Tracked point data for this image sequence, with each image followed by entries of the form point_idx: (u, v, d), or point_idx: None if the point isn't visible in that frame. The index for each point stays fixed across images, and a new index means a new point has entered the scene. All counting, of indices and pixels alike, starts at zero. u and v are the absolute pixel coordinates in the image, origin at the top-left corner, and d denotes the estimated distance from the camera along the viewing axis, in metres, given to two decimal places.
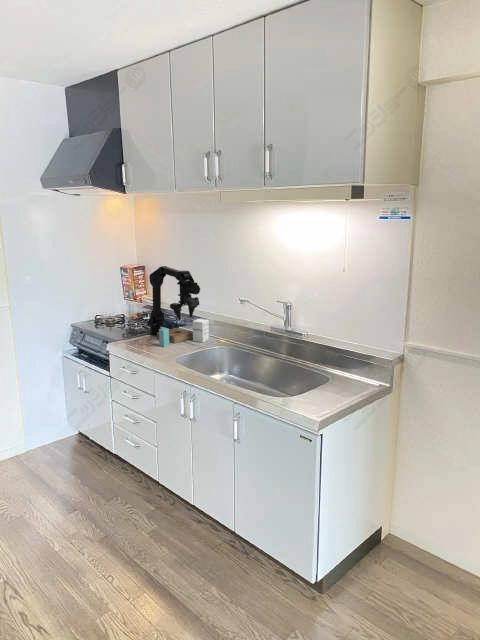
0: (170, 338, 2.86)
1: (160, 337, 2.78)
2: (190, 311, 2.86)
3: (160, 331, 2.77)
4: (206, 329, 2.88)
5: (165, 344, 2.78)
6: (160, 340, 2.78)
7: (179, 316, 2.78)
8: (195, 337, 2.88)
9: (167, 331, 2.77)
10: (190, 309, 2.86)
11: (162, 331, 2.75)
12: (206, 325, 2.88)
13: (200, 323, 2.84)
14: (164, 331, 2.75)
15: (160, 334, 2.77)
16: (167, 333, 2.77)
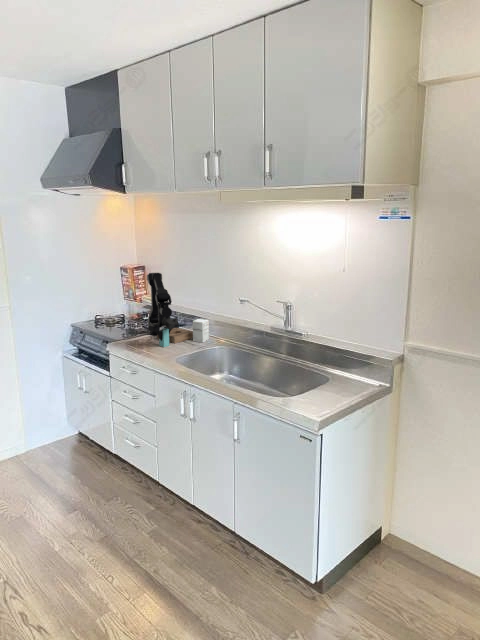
0: (170, 338, 2.86)
1: None
2: None
3: None
4: (206, 329, 2.88)
5: (165, 344, 2.78)
6: (160, 340, 2.78)
7: (161, 337, 2.76)
8: (195, 337, 2.88)
9: (167, 331, 2.77)
10: None
11: None
12: (206, 325, 2.88)
13: (200, 323, 2.84)
14: (164, 331, 2.75)
15: None
16: (167, 333, 2.77)
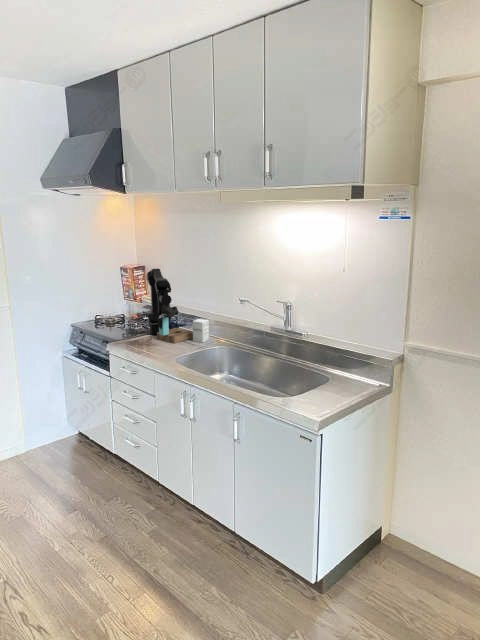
0: (170, 338, 2.86)
1: None
2: None
3: None
4: (206, 329, 2.88)
5: (165, 332, 2.76)
6: (159, 328, 2.77)
7: (160, 325, 2.74)
8: (195, 337, 2.88)
9: (167, 319, 2.76)
10: None
11: (162, 319, 2.74)
12: (206, 325, 2.88)
13: (200, 323, 2.84)
14: (164, 319, 2.74)
15: None
16: (167, 321, 2.76)
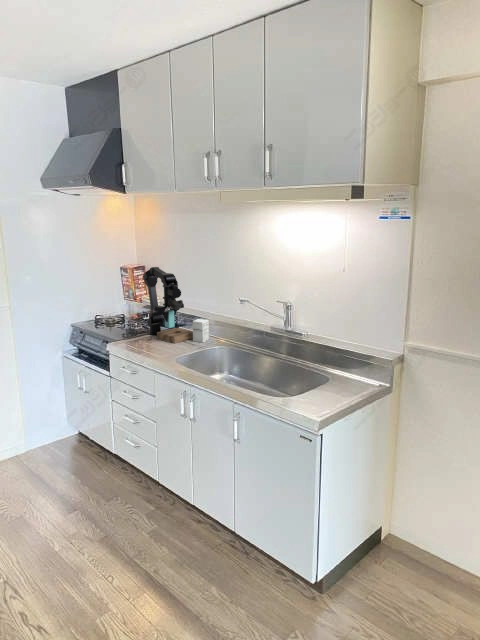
0: (170, 338, 2.86)
1: None
2: None
3: None
4: (206, 329, 2.88)
5: (170, 325, 2.84)
6: (165, 321, 2.84)
7: (166, 318, 2.82)
8: (195, 337, 2.88)
9: (172, 312, 2.83)
10: None
11: (168, 312, 2.81)
12: (206, 325, 2.88)
13: (200, 323, 2.84)
14: (170, 312, 2.81)
15: None
16: (172, 314, 2.83)
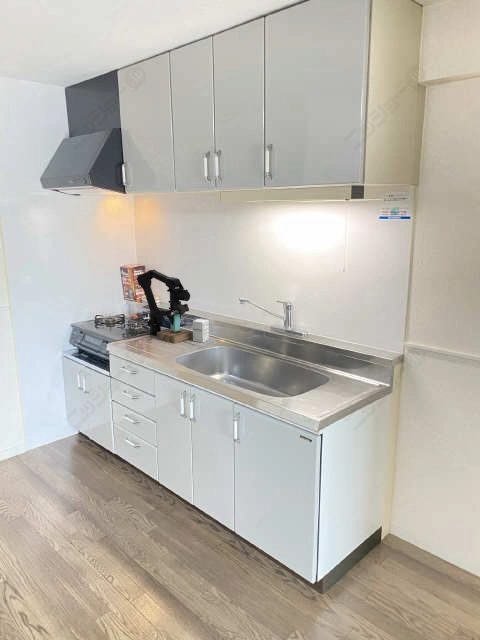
0: (170, 338, 2.86)
1: None
2: None
3: None
4: (206, 329, 2.88)
5: (176, 328, 2.92)
6: (171, 324, 2.92)
7: (172, 321, 2.90)
8: (195, 337, 2.88)
9: (178, 316, 2.91)
10: None
11: None
12: (206, 325, 2.88)
13: (200, 323, 2.84)
14: (175, 316, 2.90)
15: None
16: (178, 318, 2.92)
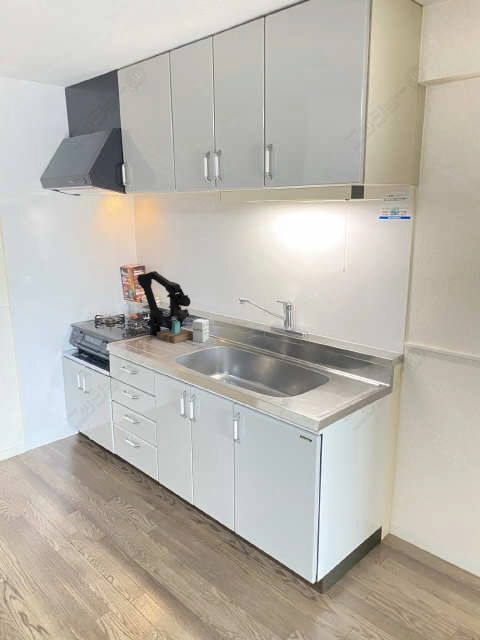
0: (170, 338, 2.86)
1: (172, 329, 2.93)
2: None
3: (172, 323, 2.92)
4: (206, 329, 2.88)
5: None
6: (171, 332, 2.94)
7: (170, 327, 2.90)
8: (195, 337, 2.88)
9: (178, 323, 2.93)
10: (179, 321, 2.96)
11: (174, 323, 2.91)
12: (206, 325, 2.88)
13: (200, 323, 2.84)
14: (175, 323, 2.91)
15: (172, 326, 2.92)
16: (178, 325, 2.93)
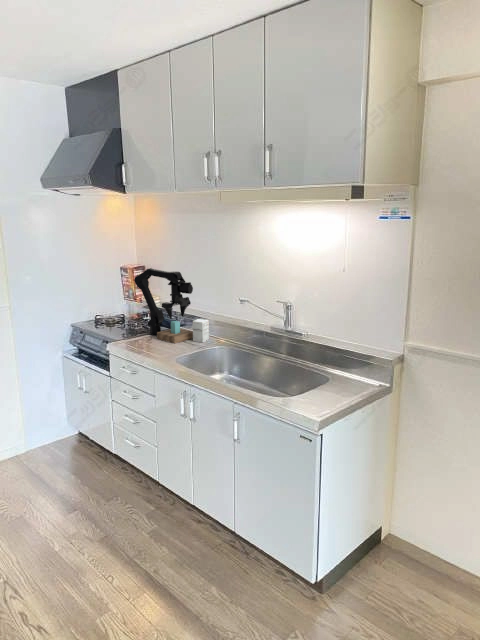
0: (170, 338, 2.86)
1: (172, 329, 2.93)
2: (181, 310, 2.98)
3: (172, 323, 2.92)
4: (206, 329, 2.88)
5: None
6: (171, 332, 2.94)
7: (170, 315, 2.91)
8: (195, 337, 2.88)
9: (178, 323, 2.93)
10: (181, 308, 2.98)
11: (174, 323, 2.91)
12: (206, 325, 2.88)
13: (200, 323, 2.84)
14: (175, 323, 2.91)
15: (172, 326, 2.92)
16: (178, 325, 2.93)
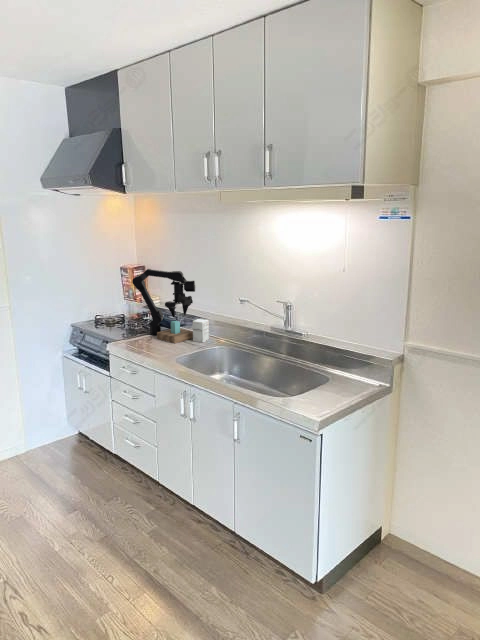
0: (170, 338, 2.86)
1: (172, 329, 2.93)
2: (184, 309, 3.04)
3: (172, 323, 2.92)
4: (206, 329, 2.88)
5: None
6: (171, 332, 2.94)
7: (173, 314, 2.96)
8: (195, 337, 2.88)
9: (178, 323, 2.93)
10: (184, 307, 3.04)
11: (174, 323, 2.91)
12: (206, 325, 2.88)
13: (200, 323, 2.84)
14: (175, 323, 2.91)
15: (172, 326, 2.92)
16: (178, 325, 2.93)
